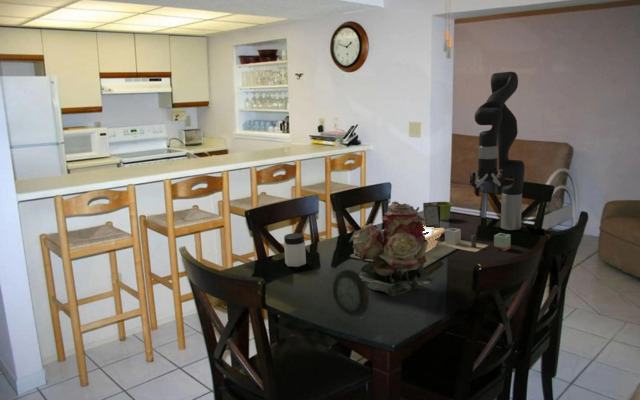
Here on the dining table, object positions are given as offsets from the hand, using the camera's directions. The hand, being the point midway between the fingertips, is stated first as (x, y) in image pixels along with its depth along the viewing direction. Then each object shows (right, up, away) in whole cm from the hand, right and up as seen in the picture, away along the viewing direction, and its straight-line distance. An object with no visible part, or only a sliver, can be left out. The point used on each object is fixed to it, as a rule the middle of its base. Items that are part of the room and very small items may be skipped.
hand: (487, 195), depth 219 cm
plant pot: (-5, -12, +57) cm, 59 cm away
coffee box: (-18, -20, +26) cm, 37 cm away
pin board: (-8, -23, +9) cm, 26 cm away
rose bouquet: (-42, -32, -27) cm, 59 cm away
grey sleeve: (-11, -21, +13) cm, 27 cm away
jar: (-80, -29, -2) cm, 85 cm away
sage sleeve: (+8, -23, +5) cm, 25 cm away
